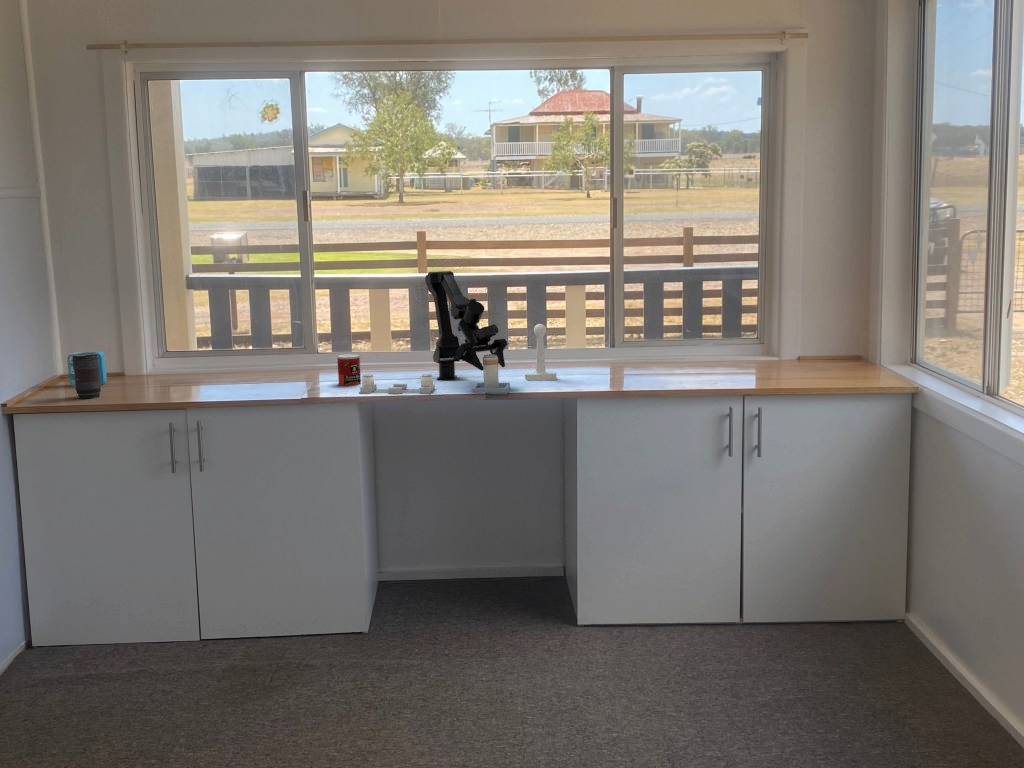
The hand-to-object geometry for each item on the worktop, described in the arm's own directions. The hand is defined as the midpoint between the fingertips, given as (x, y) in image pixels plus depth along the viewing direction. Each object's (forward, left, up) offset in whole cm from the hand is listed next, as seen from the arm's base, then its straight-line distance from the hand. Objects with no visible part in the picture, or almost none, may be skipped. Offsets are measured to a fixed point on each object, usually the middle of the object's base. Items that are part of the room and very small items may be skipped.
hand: (493, 368), depth 338 cm
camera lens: (+6, -138, -8) cm, 138 cm away
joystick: (-26, +14, -8) cm, 31 cm away
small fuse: (+3, -22, -7) cm, 23 cm away
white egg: (+3, -42, -7) cm, 43 cm away
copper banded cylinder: (-1, -1, -7) cm, 7 cm away
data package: (-19, -151, -8) cm, 152 cm away
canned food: (-12, -52, -8) cm, 54 cm away
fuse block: (+3, -32, -8) cm, 33 cm away
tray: (-1, -1, -8) cm, 8 cm away
